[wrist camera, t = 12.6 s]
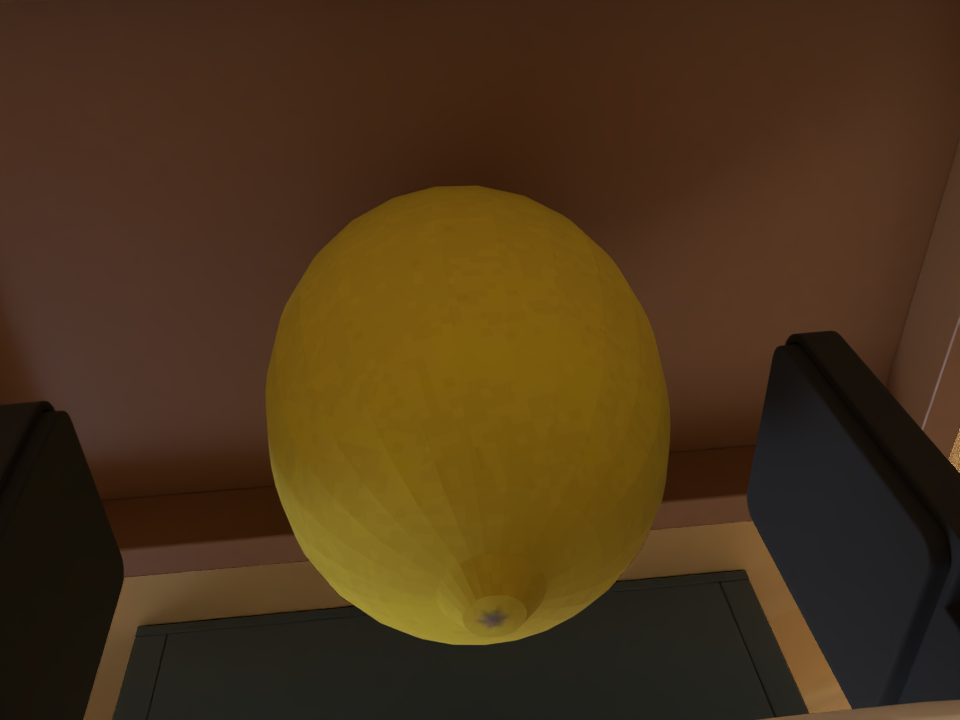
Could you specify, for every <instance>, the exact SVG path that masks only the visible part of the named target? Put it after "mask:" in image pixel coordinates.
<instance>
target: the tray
mask: <svg viewBox="0 0 960 720" xmlns="http://www.w3.org/2000/svg"><path fill="white" fill-rule="evenodd" d="M436 186H482V187H486V188H491V189H496V190H500V191H505V192H510V193H514V194H519V195H524V196H526V197H528V198H530V199H532V200H534V201H536V202H538V203H540V204H542V205H544V206H546V207H548V208H550V209H552V210H554V211H556V212H558V213H560V214H562V215H563V216H565V217H566V218H568V219H569V220H571V221H572V222H573V223H574V224H575V225H576V226H578V227H579V228H580V229H581V230H582V231H583V232H584V233H585V234H586V235H587V236H589V237H590V238H591V239H592V240H593V241H594V242H595V243H596V244H597V245H598V246H600V247H601V248H602V249H603V250H604V251H605V252H606V253H607V254H608V255H609V256H610V257H611V258H612V260H613V261H614V262H615V264H616V265H617V267H618V268H619V269H620V271H621V273H622V274H623V276H624V278H625V279H626V281H627V282H628V284H629V286H630V287H631V289H632V291H633V292H634V294H635V296H636V297H637V299H638V301H639V302H640V304H641V306H642V308H643V309H644V311H645V313H646V315H647V317H648V319H649V322H650V324H651V327H652V330H653V332H654V336H655V340H656V344H657V348H658V352H659V357H660V361H661V365H662V369H663V374H664V378H665V382H666V387H667V392H668V399H669V406H670V425H671V427H670V446H669V456H668V466H667V476H666V484H665V489H664V494H663V498H662V502H661V504H660V507H659V509H658V512H657V514H656V516H655V519H654V521H653V523H652V526H651V528H650V530H657V529H668V528H679V527H690V526H701V525H712V524H723V523H734V522H745V521H752V519H751V516H750V514H749V510H748V505H747V489H748V484H749V479H750V473H751V468H752V463H753V458H754V452H755V447H756V442H757V437H758V431H759V426H760V421H761V416H762V410H763V405H764V400H765V395H766V390H767V384H768V379H769V374H770V369H771V363H772V358H773V354H774V351H775V349H776V348H777V347H778V346H782V345H785V343H786V341H787V339H788V338H789V336H791V335H792V334H798V333H809V332H820V331H836V332H837V333H838V334H840V335H841V336H842V337H843V339H844V340H845V341H846V342H847V343H848V344H849V346H850V347H851V348H852V349H853V350H854V351H855V353H856V354H857V355H858V356H859V357H860V358H861V359H862V361H863V362H864V363H865V364H866V365H867V366H868V368H869V369H870V370H871V371H872V372H873V373H874V375H875V376H876V377H877V378H878V379H879V380H880V382H881V383H882V384H883V385H884V386H885V387H886V388H887V390H888V391H889V392H890V393H891V394H892V395H893V397H894V398H895V399H896V400H897V401H898V402H899V404H900V405H901V406H902V407H903V408H904V409H905V410H906V412H907V413H908V414H909V415H910V416H911V417H912V419H913V420H914V421H915V422H916V423H917V424H918V426H919V427H920V428H921V429H922V430H923V431H924V433H925V434H926V435H927V436H928V437H929V438H930V439H931V441H932V442H933V443H934V444H935V445H936V446H937V448H938V449H939V450H940V451H941V452H942V453H943V455H944V456H945V457H946V458H947V459H948V458H949V456H950V453H951V450H952V447H953V445H954V442H955V439H956V436H957V434H958V431H959V428H960V0H0V405H2V404H14V403H25V402H36V401H47V402H50V404H51V405H52V406H53V407H54V409H55V411H62V410H63V411H66V412H67V413H68V414H69V416H70V418H71V420H72V423H73V426H74V428H75V431H76V434H77V436H78V439H79V442H80V445H81V447H82V450H83V453H84V455H85V458H86V461H87V463H88V466H89V469H90V472H91V474H92V477H93V480H94V482H95V485H96V488H97V491H98V493H99V496H100V499H101V501H102V504H103V507H104V509H105V512H106V515H107V518H108V520H109V523H110V526H111V528H112V531H113V534H114V537H115V539H116V542H117V545H118V547H119V550H120V553H121V556H122V559H123V565H124V577H135V576H146V575H157V574H169V573H180V572H191V571H202V570H213V569H224V568H235V567H246V566H257V565H268V564H279V563H291V562H302V561H310V560H309V559H308V558H307V557H306V555H305V554H304V552H303V550H302V549H301V547H300V545H299V543H298V541H297V539H296V537H295V534H294V532H293V530H292V527H291V525H290V522H289V520H288V518H287V515H286V513H285V511H284V508H283V506H282V504H281V501H280V498H279V495H278V491H277V488H276V485H275V481H274V477H273V472H272V467H271V461H270V453H269V442H268V429H267V416H266V393H265V390H266V379H267V372H268V368H269V363H270V359H271V355H272V351H273V347H274V343H275V338H276V334H277V330H278V326H279V322H280V318H281V315H282V313H283V310H284V308H285V305H286V303H287V302H288V300H289V298H290V297H291V295H292V293H293V292H294V290H295V288H296V287H297V285H298V283H299V282H300V280H301V278H302V277H303V275H304V273H305V272H306V270H307V268H308V267H309V265H310V263H311V262H312V260H313V258H314V257H315V256H316V255H317V254H318V253H319V252H320V250H321V249H322V248H323V247H325V246H326V245H327V244H328V243H329V242H330V241H331V240H332V239H333V238H334V237H335V236H336V235H337V234H338V233H339V232H340V231H342V230H343V229H344V228H345V227H346V226H347V225H348V224H349V223H350V222H351V221H352V220H354V219H356V218H358V217H359V216H361V215H363V214H365V213H367V212H369V211H370V210H372V209H374V208H376V207H378V206H379V205H381V204H383V203H385V202H387V201H388V200H390V199H392V198H394V197H398V196H401V195H405V194H409V193H413V192H416V191H420V190H424V189H428V188H432V187H436Z"/></svg>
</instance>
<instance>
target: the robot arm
mask: <svg viewBox="0 0 960 720" xmlns="http://www.w3.org/2000/svg"><path fill="white" fill-rule="evenodd" d="M747 505H748V510H749V514H750V516H751V519H752V521H753V523H754V524H755V526H756V528H757V530H758V532H759V534H760V536H761V538H762V540H763V542H764V543H765V545H766V547H767V549H768V551H769V553H770V555H771V557H772V559H773V560H774V562H775V564H776V566H777V568H778V570H779V572H780V574H781V576H782V577H783V579H784V581H785V583H786V585H787V587H788V589H789V591H790V593H791V594H792V596H793V598H794V600H795V602H796V604H797V606H798V608H799V610H800V611H801V613H802V615H803V617H804V619H805V621H806V623H807V625H808V627H809V628H810V630H811V632H812V634H813V636H814V638H815V640H816V642H817V644H818V645H819V647H820V649H821V651H822V653H823V655H824V657H825V659H826V661H827V662H828V664H829V666H830V668H831V670H832V672H833V674H834V676H835V678H836V679H837V681H838V683H839V685H840V687H841V689H842V691H843V693H844V695H845V697H846V698H847V700H848V702H849V704H850V706H851V708H852V709H850V710H841V711H831V712H821V713H811V714H802V715H794V716H785V717H777V718H768V719H760V720H960V473H959V472H958V471H957V470H956V468H955V467H954V466H953V465H952V464H951V463H950V462H949V460H948V459H947V458H946V457H945V456H944V455H943V453H942V452H941V451H940V450H939V449H938V448H937V446H936V445H935V444H934V443H933V442H932V441H931V439H930V438H929V437H928V436H927V435H926V434H925V433H924V431H923V430H922V429H921V428H920V427H919V426H918V424H917V423H916V422H915V421H914V420H913V419H912V417H911V416H910V415H909V414H908V413H907V412H906V410H905V409H904V408H903V407H902V406H901V405H900V404H899V402H898V401H897V400H896V399H895V398H894V397H893V395H892V394H891V393H890V392H889V391H888V390H887V388H886V387H885V386H884V385H883V384H882V383H881V382H880V380H879V379H878V378H877V377H876V376H875V375H874V373H873V372H872V371H871V370H870V369H869V368H868V366H867V365H866V364H865V363H864V362H863V361H862V359H861V358H860V357H859V356H858V355H857V354H856V353H855V351H854V350H853V349H852V348H851V347H850V346H849V344H848V343H847V342H846V341H845V340H844V339H843V337H842V336H841V335H840V334H838V333H837V332H836V331H820V332H809V333H798V334H792V335H791V336H789V338H788V339H787V341H786V343H785V345H782V346H778V347H777V348H776V349H775V351H774V354H773V358H772V363H771V369H770V374H769V379H768V384H767V390H766V395H765V400H764V405H763V410H762V416H761V421H760V426H759V431H758V437H757V442H756V447H755V452H754V458H753V463H752V468H751V473H750V479H749V484H748V489H747ZM123 579H124V565H123V559H122V556H121V553H120V550H119V547H118V545H117V542H116V539H115V537H114V534H113V531H112V528H111V526H110V523H109V520H108V518H107V515H106V512H105V509H104V507H103V504H102V501H101V499H100V496H99V493H98V491H97V488H96V485H95V482H94V480H93V477H92V474H91V472H90V469H89V466H88V463H87V461H86V458H85V455H84V453H83V450H82V447H81V445H80V442H79V439H78V436H77V434H76V431H75V428H74V426H73V423H72V420H71V418H70V416H69V414H68V413H67V412H66V411H63V410H62V411H55V409H54V407H53V406H52V405H51V404H50V402H47V401H36V402H25V403H14V404H2V405H0V720H83V718H84V715H85V712H86V708H87V705H88V701H89V698H90V695H91V691H92V688H93V684H94V681H95V677H96V674H97V671H98V667H99V664H100V660H101V657H102V654H103V650H104V647H105V643H106V640H107V636H108V633H109V630H110V626H111V623H112V619H113V616H114V613H115V609H116V606H117V602H118V599H119V595H120V592H121V589H122V585H123Z"/></svg>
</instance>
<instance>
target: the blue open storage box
mask: <svg viewBox="0 0 960 720" xmlns="http://www.w3.org/2000/svg"><path fill="white" fill-rule="evenodd" d="M802 714H810V713H809V711H808V709H807V707H806V705H805V702H804V700H803V698H802V696H801V693H800V691H799V689H798V687H797V685H796V682H795V680H794V678H793V676H792V674H791V671H790V669H789V667H788V665H787V662H786V660H785V658H784V656H783V654H782V651H781V649H780V647H779V645H778V642H777V640H776V638H775V636H774V634H773V631H772V629H771V627H770V625H769V623H768V620H767V618H766V616H765V614H764V611H763V609H762V607H761V605H760V603H759V600H758V598H757V596H756V594H755V592H754V589H753V587H752V585H751V583H750V581H749V577H748V575H747V573H746V571H745V570H741V571H731V572H720V573H709V574H699V575H688V576H677V577H667V578H656V579H645V580H635V581H624V582H615V583H614V584H613V585H612V586H611V588H610V589H609V590H607V591H606V592H605V593H604V594H602V595H601V596H600V597H598V598H597V599H596V600H595V601H593V602H592V603H591V604H590V605H588V606H587V607H586V608H585V609H583V610H582V611H581V612H579V613H578V614H576V615H575V616H573V617H571V618H569V619H568V620H566V621H564V622H562V623H560V624H558V625H556V626H554V627H552V628H550V629H548V630H547V631H544V632H540V633H537V634H534V635H531V636H528V637H525V638H522V639H519V640H515V641H508V642H501V643H495V644H488V645H452V644H447V643H441V642H436V641H430V640H425V639H421V638H418V637H415V636H412V635H410V634H407V633H405V632H402V631H399V630H397V629H394V628H392V627H389V626H387V625H384V624H382V623H380V622H378V621H377V620H375V619H374V618H372V617H371V616H369V615H368V614H367V613H365V612H364V611H362V610H361V609H359V608H358V607H346V608H336V609H325V610H314V611H304V612H293V613H282V614H271V615H261V616H250V617H239V618H229V619H218V620H207V621H197V622H186V623H175V624H165V625H154V626H143V627H138V628H137V632H136V638H135V640H134V644H133V648H132V651H131V655H130V658H129V662H128V665H127V669H126V672H125V676H124V680H123V683H122V687H121V690H120V694H119V697H118V701H117V705H116V708H115V712H114V715H113V719H112V720H760V719H768V718H777V717H785V716H794V715H802Z"/></svg>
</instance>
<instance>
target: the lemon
mask: <svg viewBox="0 0 960 720" xmlns="http://www.w3.org/2000/svg"><path fill="white" fill-rule="evenodd" d="M265 393H266V416H267V429H268V442H269V453H270V461H271V467H272V472H273V477H274V481H275V485H276V488H277V491H278V495H279V498H280V501H281V504H282V506H283V508H284V511H285V513H286V515H287V518H288V520H289V522H290V525H291V527H292V530H293V532H294V534H295V537H296V539H297V541H298V543H299V545H300V547H301V549H302V550H303V552H304V554H305V555H306V557H307V558H308V559H309V560H310V561H311V563H312V564H313V565H314V566H315V567H316V569H317V570H318V571H319V572H320V573H321V574H322V576H323V577H324V578H325V579H326V580H327V581H328V582H329V584H330V585H331V586H332V587H333V588H334V589H335V591H336V592H337V593H338V594H339V595H340V596H342V597H343V598H345V599H346V600H347V601H349V602H350V603H352V604H353V605H355V606H356V607H358V608H359V609H361V610H362V611H364V612H365V613H367V614H368V615H369V616H371V617H372V618H374V619H375V620H377V621H378V622H380V623H382V624H384V625H387V626H389V627H392V628H394V629H397V630H399V631H402V632H405V633H407V634H410V635H412V636H415V637H418V638H421V639H425V640H430V641H436V642H441V643H447V644H452V645H488V644H495V643H501V642H508V641H515V640H519V639H522V638H525V637H528V636H531V635H534V634H537V633H540V632H544V631H547V630H548V629H550V628H552V627H554V626H556V625H558V624H560V623H562V622H564V621H566V620H568V619H569V618H571V617H573V616H575V615H576V614H578V613H579V612H581V611H582V610H583V609H585V608H586V607H587V606H588V605H590V604H591V603H592V602H593V601H595V600H596V599H597V598H598V597H600V596H601V595H602V594H604V593H605V592H606V591H607V590H609V589H610V588H611V586H612V585H613V584H614V583H615V582H616V580H617V579H618V578H619V577H620V575H621V574H622V573H623V572H624V570H625V569H626V568H627V567H628V565H629V564H630V563H631V562H632V560H633V559H634V558H635V557H636V555H637V554H638V553H639V551H640V550H641V548H642V546H643V544H644V542H645V539H646V537H647V535H648V533H649V530H650V528H651V526H652V523H653V521H654V519H655V516H656V514H657V512H658V509H659V507H660V504H661V502H662V498H663V494H664V489H665V484H666V476H667V466H668V456H669V446H670V427H671V425H670V406H669V399H668V392H667V387H666V382H665V378H664V374H663V369H662V365H661V361H660V357H659V352H658V348H657V344H656V340H655V336H654V332H653V330H652V327H651V324H650V322H649V319H648V317H647V315H646V313H645V311H644V309H643V308H642V306H641V304H640V302H639V301H638V299H637V297H636V296H635V294H634V292H633V291H632V289H631V287H630V286H629V284H628V282H627V281H626V279H625V278H624V276H623V274H622V273H621V271H620V269H619V268H618V267H617V265H616V264H615V262H614V261H613V260H612V258H611V257H610V256H609V255H608V254H607V253H606V252H605V251H604V250H603V249H602V248H601V247H600V246H598V245H597V244H596V243H595V242H594V241H593V240H592V239H591V238H590V237H589V236H587V235H586V234H585V233H584V232H583V231H582V230H581V229H580V228H579V227H578V226H576V225H575V224H574V223H573V222H572V221H571V220H569V219H568V218H566V217H565V216H563V215H562V214H560V213H558V212H556V211H554V210H552V209H550V208H548V207H546V206H544V205H542V204H540V203H538V202H536V201H534V200H532V199H530V198H528V197H526V196H524V195H519V194H514V193H510V192H505V191H500V190H496V189H491V188H486V187H482V186H436V187H432V188H428V189H424V190H420V191H416V192H413V193H409V194H405V195H401V196H398V197H394V198H392V199H390V200H388V201H387V202H385V203H383V204H381V205H379V206H378V207H376V208H374V209H372V210H370V211H369V212H367V213H365V214H363V215H361V216H359V217H358V218H356V219H354V220H352V221H351V222H350V223H349V224H348V225H347V226H346V227H345V228H344V229H343V230H342V231H340V232H339V233H338V234H337V235H336V236H335V237H334V238H333V239H332V240H331V241H330V242H329V243H328V244H327V245H326V246H325V247H323V248H322V249H321V250H320V252H319V253H318V254H317V255H316V256H315V257H314V258H313V260H312V262H311V263H310V265H309V267H308V268H307V270H306V272H305V273H304V275H303V277H302V278H301V280H300V282H299V283H298V285H297V287H296V288H295V290H294V292H293V293H292V295H291V297H290V298H289V300H288V302H287V303H286V305H285V308H284V310H283V313H282V315H281V318H280V322H279V326H278V330H277V334H276V338H275V343H274V347H273V351H272V355H271V359H270V363H269V368H268V372H267V379H266V390H265Z"/></svg>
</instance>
